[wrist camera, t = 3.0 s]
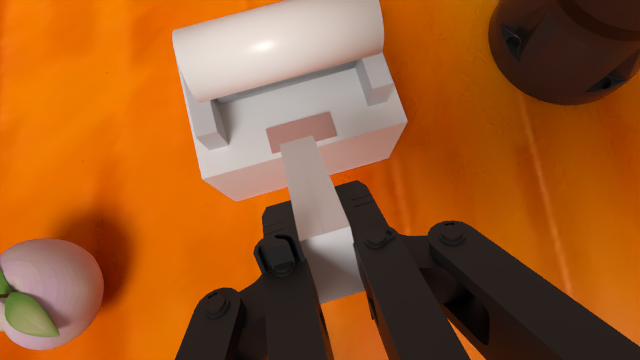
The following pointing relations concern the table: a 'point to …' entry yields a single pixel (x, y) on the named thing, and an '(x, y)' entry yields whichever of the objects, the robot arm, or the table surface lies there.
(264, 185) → the box
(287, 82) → the lever
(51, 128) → the table surface
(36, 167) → the table surface
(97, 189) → the table surface
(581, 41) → the robot arm
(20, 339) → the decorative fruit
